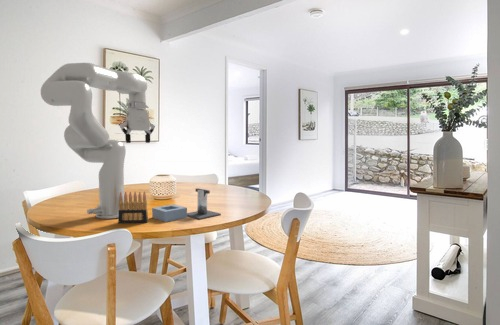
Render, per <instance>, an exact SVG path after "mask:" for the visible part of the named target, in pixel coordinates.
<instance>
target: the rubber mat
mask: <svg viewBox="0 0 500 325" xmlns="http://www.w3.org/2000/svg"><path fill="white" fill-rule="evenodd" d="M221 215H222V214H221V213H220V212H217V211H212V210H208V209H207V214H204V215H200V214H197V210H195V211H191V212H187V217H189V218H193V219H196V220H199V221H200V220H203V219H204V220H205V219H209V218H213V217H218V216H221Z"/></svg>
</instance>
